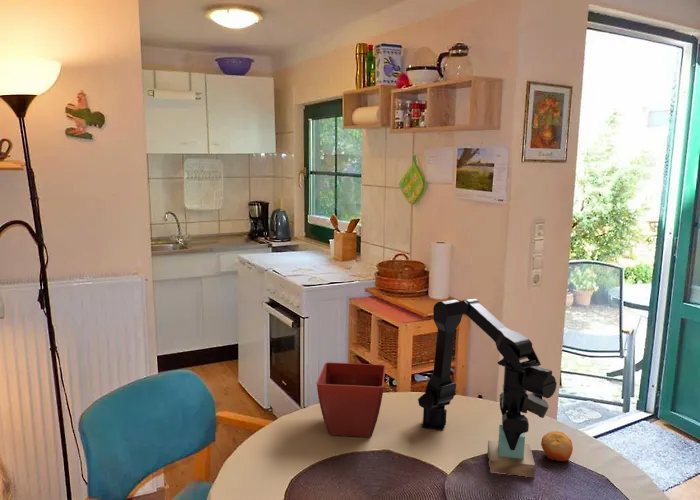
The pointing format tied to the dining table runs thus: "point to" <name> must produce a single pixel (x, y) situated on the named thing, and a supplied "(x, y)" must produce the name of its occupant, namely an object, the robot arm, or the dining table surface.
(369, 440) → the dining table surface
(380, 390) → the plant pot
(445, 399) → the robot arm
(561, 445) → the fruit
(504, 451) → the teal cube
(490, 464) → the light tan wooden block
